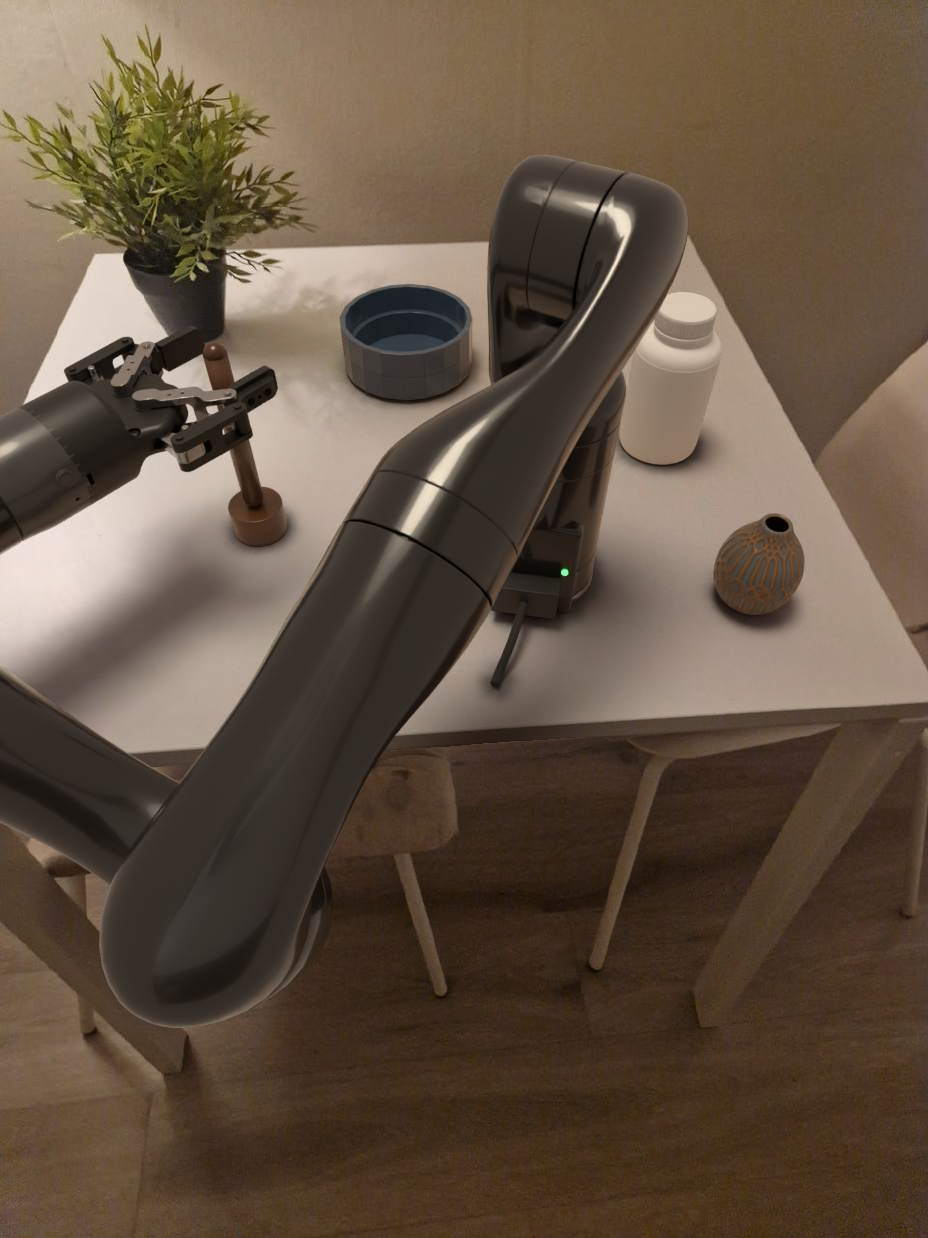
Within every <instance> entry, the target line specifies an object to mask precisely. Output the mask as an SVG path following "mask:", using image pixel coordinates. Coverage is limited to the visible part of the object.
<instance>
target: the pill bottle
mask: <svg viewBox="0 0 928 1238" xmlns="http://www.w3.org/2000/svg"><path fill="white" fill-rule="evenodd" d="M717 315H718V309H717V306H716V304H715V303H714V301H712V300H711V299H709V298H708V297H706V296H704V295H702V294H699V293H695V292H690V291H688V292H687V291H686V292H685V291H679V292H678V291H677V292H676V291H675V292H672V293H668V295H667V297H666V299H665V300H664V302H663V304H662V306H661V308H660V310H659V312H658V314H657V315H656V317H655V319H654V321H653V322H652V324H651V325H650V327H649V329H648V330H647V332H646V334H645V335H644V337H643V339H642V340H641V342H640V343H639V345H638V346H637V348H636V350H635V351H634V353H633V354H632V357H631V358H632V359H631V364H630V368H629V369H630V370H629V375H628V380H627V384H626V398H625V403H624V409H623V414H622V418H621V423H620V428H619V434H618V439H619V442H620V445H621V447H622V448H623V449H624V450H625V452H626V453H627V454H628V455H630V456H631V457H633V458H635V459H637V460H638V461H641V462H643V463H646V464H647V463H648V464H651V465H663V466H664V465H673V464H677V463H679V462H683V461H684V460H685V459H687V458H688V457H689V456H691V455H692V454H693V452H694V451H695V449H696V446H697V444H698V441H699V438H700V434H701V431H702V427H703V423H704V420H705V416H706V412H707V409H708V405H709V402H710V398H711V394H712V391H713V387H714V383H715V380H716V377H717V373H718V370H719V367H720V362H721V359H722V355H723V353H722V352H723V351H722V350H723V349H722V348H723V347H722V343H721V340H720V338H719V336H718V334H717V333H716V332H715V331H714V326H715V322H716V318H717Z"/></svg>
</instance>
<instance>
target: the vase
mask: <svg viewBox="0 0 928 1238" xmlns="http://www.w3.org/2000/svg"><path fill="white" fill-rule="evenodd" d="M805 564H806V563H805V552H804V549H803V545H802V544H801V541H800V540H799V538H798V536H797V535H796V533H795V529H794V524H793V522H792V520H791V519H790V518H788V517H787V516H786V515H784V514H781V513H775V512H774V513H773V512H772V513H767V514H765V515H764V516H762V517H761V518H760V519H758V520H756V521H752V522H749V523H746V524H745V525H742V526H741V527H739V528H737V529H736V530H734V531H733V532H732V533H731V534H729V536H728V537H727V538H726V539H725V540H724V541H723V542H722V545H721V547H720V548H719V550H718V552H717V555H716V557H715V561H714V565H713V581H714V582H713V583H714V587H715V590H716V592H717V594H718V596H719V597H720V599H721V600H722V601H723V602H724V603H725V604H726V605H727V606H728V607H729V608H732V610H734V611H736V612H739V613H741V614H745V615H751V616H752V615H753V616H757V615H758V616H760V615H765V614H769V613H772V612H775V611H776V610H778V609H780V608H781V607H783V606H784V605H785V604H786V603H787V602H788V601H790V599H792V597H794V595H795V593H796V592H797V590H798V589H799V586H800V584H801V583H802V580H803V576H804V572H805Z"/></svg>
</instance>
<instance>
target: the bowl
mask: <svg viewBox="0 0 928 1238" xmlns="http://www.w3.org/2000/svg"><path fill="white" fill-rule="evenodd" d="M339 326H340V335H341V343H342V350H343V358H344V366H345V367H344V368H345V372H346V374H347V376H348V378H349V379H350V380H351V381H352V383H353V384H354V385H355V386H356V387H359V389H362V391H364V392H366V393H368V394H371V395H374V396H377V397H380V398H384V399H392V400H398V401H399V400H400V401H413V400H415V401H416V400H424V399H429V398H432V397H435V396H438V395H442V394H445V393H447V392H448V391H450V390H452V389H454V388H456V387H457V386H459V385H460V384H461V383H462V382H464V380H465V379H466V378H467V376H469V374H470V370H471V367H472V363H473V315H472V312H471V309H470V306H468V305H467V303H466V302H465V301H463V299H462V298H461V297H459V296H457V295H455V294H454V293H452V292H450V291H448V290H446V289H443V288H439V287H436V286H432V285H428V284H427V285H425V284H416V283H415V284H413V283H403V284H389V285H385V286H381V287H376V288H373V289H369V290H368V291H366V292H363V293H361V294H359V295H357V296H355V297H354V298H352V300H351V301H349V302H348V303H347V304H346V305H345V306H344V308H343V310H342V311H341V313H340V315H339Z"/></svg>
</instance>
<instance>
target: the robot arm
mask: <svg viewBox="0 0 928 1238" xmlns="http://www.w3.org/2000/svg"><path fill="white" fill-rule="evenodd" d="M688 235H689V213H688V209H687V204H686V202H685V200H684V198H683V197H682V195H681V194H680V193H679V191H678V190H677V189H675V187H673V186H671V185H668V184H667V183H664V182H662V181H660V180H657V179H656V178H653V177H649V176H646V175H643V174H639V173H634V172H629V171H626V170H621V169H617V168H614V167H608V166H603V165H600V164H594V163H591V162H586V161H582V160H577V159H574V158H568V157H564V156H559V155H553V154H543V153H539V154H533V155H530V156H528V157H526V158H524V159H522V161H520V162H519V163H518V164H517V165H516V166H515V167H514V169H512V171H511V172H510V174H509V175H508V177H507V178H506V180H505V182H504V184H503V186H502V188H501V190H500V193H499V195H498V198H497V200H496V203H495V207H494V210H493V216H492V220H491V225H490V231H489V237H488V247H487V262H486V295H487V296H486V297H487V299H486V300H487V323H488V324H487V326H488V328H487V329H488V376H489V382H490V385H489V386H487V387H484V388H482V389H481V390H479V391H477V392H475V393H473V394H471V395H470V396H468V397H466V398H464V399H462V400H461V401H459V402H457V403H455V404H453V405H452V406H450V407H447V408H445V409H444V410H442V411H441V412H439V413H438V414H435V415H434V416H433V417H431V418H429V419H428V420H426V421H424V422H423V423H421V424H420V425H418V426H417V427H415V428H414V429H412V430H411V431H410V432H408V433H407V434H406V435H404V436H403V437H401V438H400V439H399V440H397V441H396V442H395V443H394V444H393V445H392V446H391V447H390V448H389V449H388V450H387V451H386V452H385V453H384V455H383V456H382V457H381V458H380V460H379V461H378V462H377V464H376V466H375V467H374V469H373V471H372V472H371V473H370V475H369V477H368V479H367V480H366V482H365V483H364V485H363V487H362V489H361V490H360V492H359V493H358V495H357V497H356V499H355V500H354V502H353V503H352V505H351V506H350V508H349V510H348V512H347V514H346V515H345V517H344V518H343V520H342V521H341V524H340V525H339V527H338V528H337V530H336V532H335V533H334V535H333V537H332V539H331V541H330V542H329V545H328V547H327V548H326V551H325V553H324V554H323V555H322V558H321V560H320V561H319V563H318V565H317V566H316V568H315V570H314V572H313V573H312V575H311V577H310V578H309V580H308V582H307V584H306V585H305V586H304V589H303V590H302V591H301V593H300V595H299V597H298V599H297V600H296V602H295V604H294V605H293V607H292V608H291V610H290V611H289V613H288V615H287V617H286V618H285V621H284V622H283V624H282V625H281V627H280V629H279V631H278V633H277V634H276V636H275V638H274V639H273V642H272V644H271V645H270V647H269V648H268V651H267V652H266V654H265V656H264V658H263V659H262V661H261V663H260V665H259V667H258V668H257V671H256V672H255V674H254V675H253V677H252V679H251V681H250V682H249V684H248V686H247V687H246V689H245V690H244V692H243V694H242V695H241V696H240V697H239V700H238V701H237V702H236V704H235V706H234V707H233V708H232V710H231V712H230V713H229V714H228V716H226V719H225V720H224V721H223V723H222V724H221V726H220V727H219V728H218V730H217V731H216V733H214V735H213V737H212V738H211V739H210V741H209V742H208V744H206V746H205V747H204V748H203V750H202V752H201V753H200V754H199V755H198V757H197V758H196V759H195V760H194V762H193V763H192V764H191V766H190V768H189V769H188V770H187V771H186V772H185V774H184V775H183V777H182V778H181V780H180V781H178V780H176V779H174V778H172V777H170V776H169V775H167V774H165V773H163V772H161V771H159V770H158V769H156V768H154V767H153V766H151V765H149V764H147V763H145V762H144V761H142V760H140V759H139V758H137V757H135V756H134V755H132V754H130V753H128V752H127V751H125V750H124V749H122V748H121V747H119V746H118V745H116V744H114V743H113V742H111V741H110V740H108V739H107V738H105V737H104V736H103V735H101V734H99V733H98V732H96V731H95V730H94V729H92V728H91V727H89V726H87V725H86V724H84V723H83V722H82V721H80V719H77V718H76V717H75V716H74V715H72V714H70V713H69V712H68V711H66V710H64V709H63V708H62V707H60V706H59V705H58V704H56V703H55V702H53V701H52V700H50V699H49V698H48V697H46V696H45V695H43V694H42V693H41V692H40V691H38V690H37V689H35V688H34V687H32V686H31V685H29V684H28V683H27V682H25V681H23V680H22V679H21V678H19V677H18V676H16V675H15V674H14V673H12V672H11V671H9V670H8V669H7V668H5V667H3V666H2V665H0V824H2V825H4V826H6V827H8V828H10V829H12V830H15V831H16V832H18V833H20V834H22V835H25V836H27V837H29V838H30V839H33V840H35V841H37V842H39V843H41V844H42V845H45V846H47V847H48V848H50V849H52V850H54V851H55V852H56V853H57V852H58V853H59V854H61V855H63V857H66V858H68V859H69V860H71V861H73V862H74V863H76V864H77V865H78V866H80V867H82V868H83V869H84V870H86V871H88V872H90V873H91V874H92V875H94V876H95V877H97V878H98V879H100V880H101V881H102V882H103V883H105V884H106V885H108V886H109V888H108V890H107V893H106V896H105V898H104V902H103V905H102V911H101V915H100V921H99V938H98V939H99V941H98V945H99V946H98V947H99V953H100V960H101V961H100V963H101V968H102V970H103V973H104V976H105V979H106V982H107V984H108V987H109V988H110V990H111V991H112V993H113V995H114V996H115V997H116V999H117V1001H118V1002H119V1003H120V1004H121V1005H122V1007H124V1008H125V1009H126V1010H127V1011H128V1012H129V1013H131V1014H132V1015H133V1016H135V1017H137V1018H139V1019H140V1020H143V1021H144V1022H147V1023H148V1024H151V1025H155V1026H159V1027H163V1028H172V1029H186V1028H188V1029H189V1028H198V1027H205V1026H210V1025H212V1024H217V1023H221V1022H225V1021H229V1020H231V1019H233V1018H235V1017H238V1016H240V1015H242V1014H244V1013H246V1012H248V1011H251V1010H252V1009H254V1008H256V1007H258V1006H259V1005H261V1004H262V1003H264V1002H266V1001H268V1000H269V999H271V998H272V997H274V996H275V995H276V994H278V993H280V992H282V991H284V990H285V989H286V988H288V987H289V986H291V985H292V984H294V982H296V981H298V979H299V978H301V977H302V976H303V975H304V974H305V973H306V972H307V970H309V969H310V968H311V966H312V965H313V964H314V962H315V961H316V960H317V958H318V957H319V956H320V954H321V952H322V951H323V949H324V947H325V945H326V943H327V940H328V939H329V934H330V931H331V926H332V923H333V915H334V895H333V887H332V883H331V880H330V876H329V873H328V870H327V868H326V864H327V861H328V859H329V857H330V854H331V852H332V850H333V848H334V846H335V843H336V841H337V839H338V837H339V835H340V833H341V832H342V831H341V830H342V829H343V826H344V825H345V822H346V820H347V818H348V816H349V814H350V812H351V811H352V808H353V805H354V803H355V801H356V799H357V798H358V795H359V794H360V792H361V790H362V788H363V786H364V784H365V783H366V780H367V778H368V777H369V775H370V774H371V772H372V770H373V768H374V767H375V765H376V764H377V763H378V761H379V759H380V757H381V756H382V754H383V753H384V752H385V750H386V749H387V747H388V746H389V745H390V743H391V742H392V741H393V740H394V738H395V737H396V736H397V734H398V733H399V732H400V731H401V730H402V728H403V727H404V726H405V724H407V722H408V721H410V719H411V718H412V717H413V716H414V714H415V713H416V712H417V711H418V710H419V709H420V708H421V706H422V705H423V704H424V703H425V702H426V700H428V698H429V697H430V696H431V695H432V693H433V692H434V691H435V690H436V689H437V688H438V686H439V685H440V684H441V683H442V681H443V680H444V679H445V678H446V676H447V675H448V674H449V673H450V671H451V670H452V669H453V668H454V666H455V665H456V664H457V663H458V661H459V660H460V658H461V657H462V656H463V655H464V653H465V652H466V651H467V650H468V647H469V646H470V645H471V643H472V642H473V640H474V639H475V637H476V636H477V634H478V632H479V630H480V629H481V627H482V626H483V625H484V622H485V621H486V619H487V618H488V616H489V614H490V613H491V611H492V612H498V613H499V612H500V613H505V614H514V615H515V616H514V619H513V623H512V626H511V628H510V632H509V634H508V637H507V640H506V643H505V646H504V648H503V651H502V653H501V655H500V658H499V660H498V662H497V664H496V667H495V669H494V672H493V674H492V676H491V679H490V681H489V683H490V685H491V686H493V687H494V688H495V687H499V686H500V683H501V680H502V678H503V676H504V673H505V671H506V668H507V666H508V664H509V661H510V660H511V657H512V654H513V653H514V649H515V648H516V644H517V641H518V638H519V635H520V633H521V629H522V626H523V623H524V620H525V617H526V616H529V617H537V618H544V619H552V620H555V619H556V614H557V612H558V613H565V614H566V613H570V612H571V608H572V604H573V603H574V602H576V601H578V600H579V599H580V598H582V597H583V595H584V594H586V592H587V591H588V589H589V587H590V586H591V584H592V580H593V575H594V563H595V559H596V553H597V547H598V541H599V536H600V531H601V526H602V521H603V515H604V511H605V505H606V500H607V496H608V495H607V494H608V490H609V485H610V484H609V483H610V479H611V474H612V469H613V463H614V458H615V452H616V448H617V444H618V439H619V430H620V423H621V418H622V414H623V409H624V403H625V398H626V391H627V381H626V378H625V375H624V372H623V371H624V368H625V366H626V365H627V364H628V362H629V361H630V359H631V358H632V357H633V353H634V351H635V350H636V348H637V346H638V345H639V343H640V342H641V340H642V339H643V337H644V335H645V334H646V332H647V330H648V329H649V327H650V325H651V324H652V322H654V319H655V317H656V315H657V314H658V312H659V310H660V308H661V306H662V304H663V302H664V300H665V299H666V297H667V295H668V294H670V290H671V288H672V286H673V283H674V281H675V279H676V276H677V274H678V272H679V270H680V266H681V263H682V260H683V257H684V254H685V249H686V246H687V242H688V237H689V236H688ZM205 345H206V344H205V339H204V337H203V333H202V331H201V329H199V328H197V327H196V326H195V325H189V326H187V327H185V328H183V329H180V330H177V331H176V332H174V333H172V334H170V335H168V336H166V337H164V338H161V339H160V340H158V341H156V342H153V341H151V340H150V341H149V340H148V341H143V342H140V343H139V344H138V343H135V341H134V338H133V337H131V336H121V337H119V338H118V339H116V340H114V341H113V342H112V341H111V342H110V343H108V344H106V345H105V346H103V347H101V348H99V349H97V350H96V351H94V352H92V353H90V354H89V355H87V356H85V357H83V358H81V359H79V360H77V361H76V362H74V363H72V364H70V365H68V366H67V367H65V368H64V369H63V374H64V375H65V377H66V380H67V381H66V382H65V383H63V384H61V385H59V386H57V387H56V388H53V389H51V390H49V391H48V392H46V393H43V394H41V395H40V396H37V397H35V398H34V399H32V400H30V401H28V402H26V403H23V404H22V405H20V406H18V407H16V408H14V409H12V410H10V411H8V412H6V413H4V414H2V415H0V556H1V555H3V554H4V553H6V552H8V551H9V550H11V549H13V548H15V547H16V546H18V545H20V544H21V543H22V542H24V541H27V540H28V539H30V538H33V537H35V536H37V535H39V534H41V533H42V534H43V533H44V532H47V531H48V530H51V529H53V528H55V527H57V526H59V525H60V524H62V523H64V522H65V521H67V520H69V519H71V518H72V517H74V516H76V515H78V514H79V513H80V512H82V511H84V510H86V509H87V508H89V507H90V506H93V505H94V504H95V503H97V502H99V501H100V500H102V499H104V498H105V497H107V496H109V495H110V494H112V493H113V492H115V491H117V490H119V489H120V488H122V487H123V486H126V485H127V484H128V483H130V482H132V481H134V480H135V479H136V478H138V477H139V475H140V474H141V472H142V467H143V465H144V462H145V461H146V459H147V458H149V457H151V456H153V455H157V454H160V453H164V452H167V453H169V454H170V455H171V456H173V457H174V458H175V459H176V462H177V463H178V466H179V469H180V471H181V472H184V473H191V472H194V471H195V470H198V469H200V468H201V467H203V466H204V465H207V464H208V463H210V462H211V461H214V460H215V459H217V458H219V457H220V456H222V455H225V454H226V453H228V452H230V451H229V450H231V449H233V448H235V447H236V446H238V445H240V444H242V443H243V442H245V441H247V440H249V441H250V440H251V439H252V438H253V436H254V433H253V432H254V431H253V428H252V426H251V425H252V424H251V421H250V418H249V413H250V412H252V411H254V410H255V409H257V408H259V407H260V406H262V405H263V404H265V403H267V402H269V401H270V400H272V399H273V398H274V397H276V395H277V392H278V389H279V386H278V382H277V376H276V372H275V369H273V368H271V367H269V366H267V365H262V366H260V367H258V368H257V369H255V370H253V371H252V372H250V373H248V374H246V375H244V376H243V377H241V378H239V379H237V380H235V382H234V383H232V384H230V385H229V389H220V390H213V391H212V390H206V391H205V390H202V389H201V388H200V387H198V386H186V387H180V388H179V387H177V386H176V385H173V384H170V383H167V382H165V380H164V379H163V375H164V374H165V373H164V370H165V371H166V372H168V373H170V372H171V371H174V370H175V369H177V368H179V367H181V366H183V365H185V364H187V363H189V362H190V361H193V360H194V359H196V358H198V357H200V356H203V348H204V347H205ZM120 356H121V358H122V360H123V363H122V364H120V365H118V366H117V367H115V365H114V360H115V359H116V358H118V357H120ZM187 405H189V406H190V407H191V408H192V410H193V413H194V416H195V419H196V420H195V421H190V422H187V421H188V418H189V410H188V406H187ZM217 405H222V407H223V409H222V410H220V411H218V410H217V411H216V412H214V413H209V412H208V409H207V408H208V407H214V406H215V407H217ZM227 427H232V428H233V430H231V431H229V432H228V433H226V434H225V433H224V430H223V428H227Z"/></svg>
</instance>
